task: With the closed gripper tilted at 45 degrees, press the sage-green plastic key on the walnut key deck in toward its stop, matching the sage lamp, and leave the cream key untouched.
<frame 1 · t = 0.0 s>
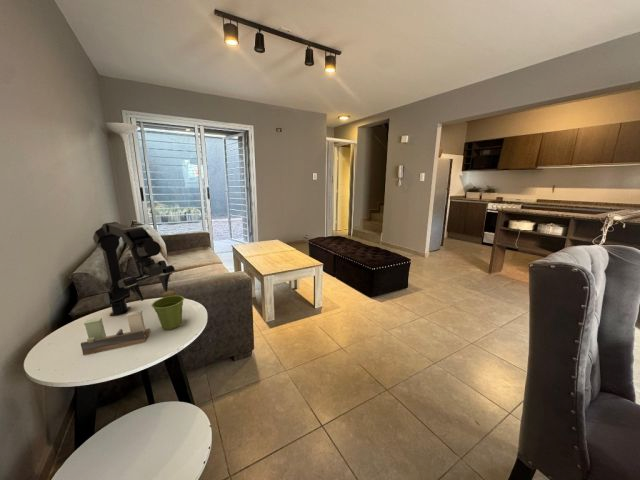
hand: (154, 295, 102), 15 cm above the table, tool pointing down, fingers open, 9 cm apart
key deck: (119, 340, 99), on the table
cream key: (136, 323, 100), point 6 cm above the table, slide at 0.0 cm
plant pot: (172, 325, 109), on the table
cork: (172, 313, 119), on the table
sage key: (95, 330, 95), point 6 cm above the table, slide at 0.0 cm
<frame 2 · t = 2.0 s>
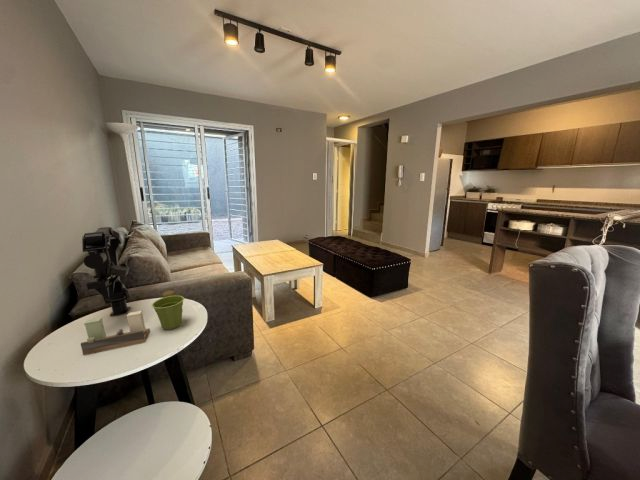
hand: (109, 296, 109), 13 cm above the table, tool pointing down, fingers open, 4 cm apart
nothing on the table moved.
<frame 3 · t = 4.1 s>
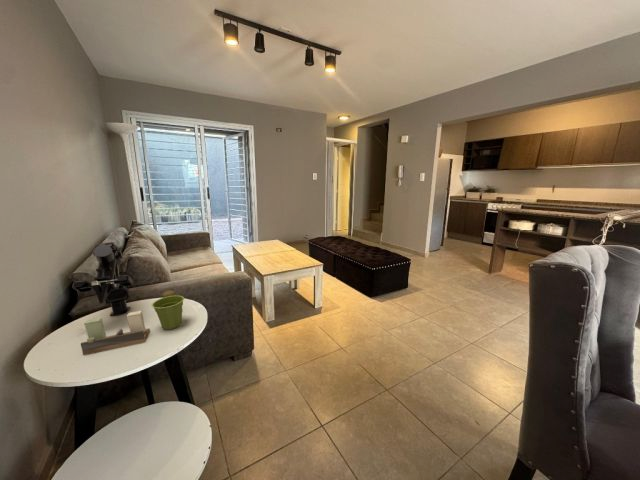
hand: (101, 303, 102), 14 cm above the table, tool tilted 45°, fingers closed
nothing on the table moved.
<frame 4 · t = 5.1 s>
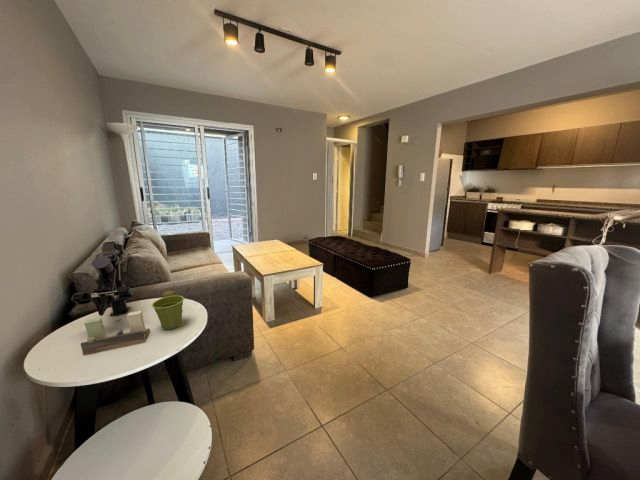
hand: (101, 315, 100), 10 cm above the table, tool tilted 45°, fingers closed
nothing on the table moved.
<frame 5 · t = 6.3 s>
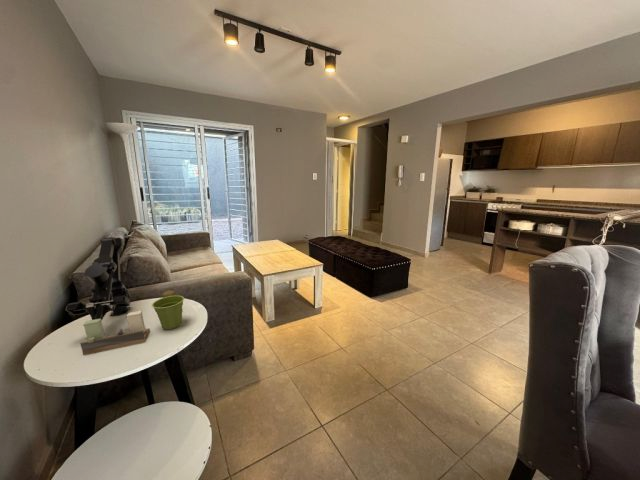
hand: (96, 326, 96), 8 cm above the table, tool tilted 45°, fingers closed, pressing on sage key
sage key: (94, 331, 95), point 6 cm above the table, slide at 0.7 cm, touching gripper
everything else where it was.
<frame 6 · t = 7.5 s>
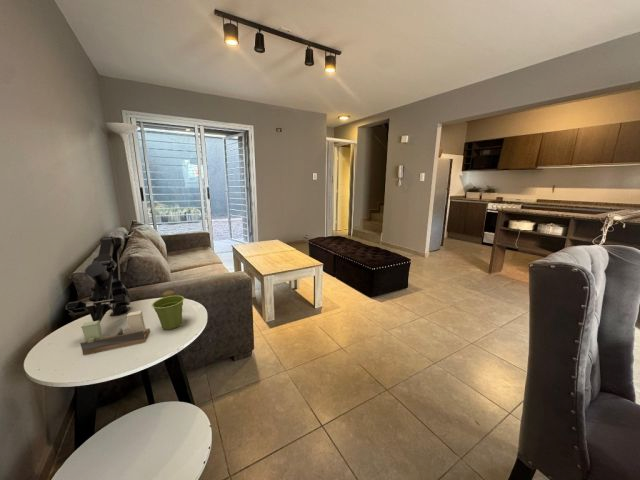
hand: (96, 325, 96), 8 cm above the table, tool tilted 45°, fingers closed
sage key: (93, 333, 93), point 6 cm above the table, slide at 2.2 cm, touching key deck
everything else where it was.
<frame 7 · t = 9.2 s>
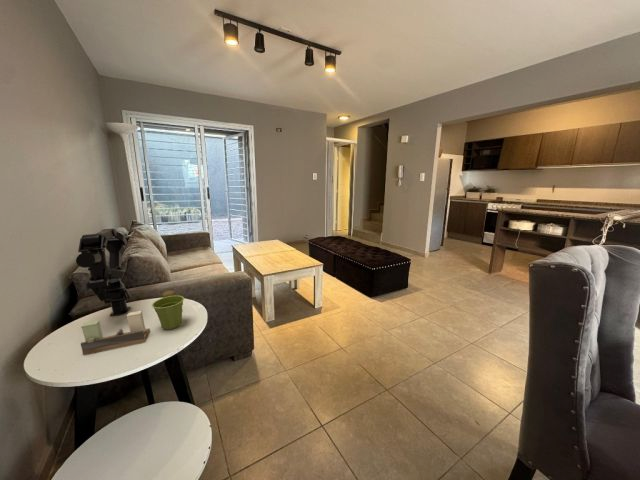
hand: (102, 300, 107), 12 cm above the table, tool pointing down, fingers closed
nothing on the table moved.
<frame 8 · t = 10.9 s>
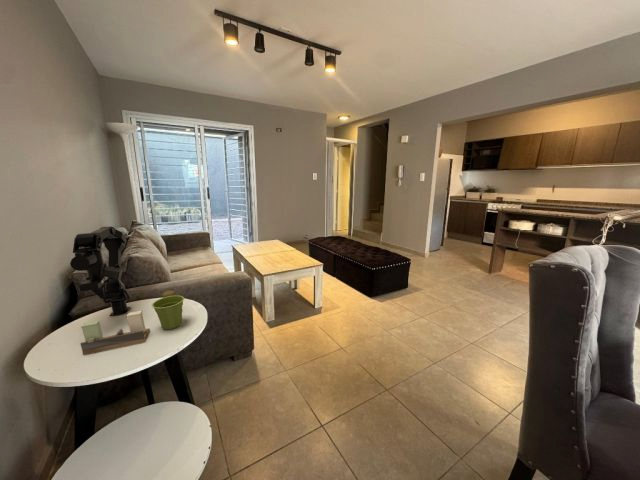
hand: (102, 298, 107), 13 cm above the table, tool pointing down, fingers closed
nothing on the table moved.
at the end: sage key slide at 2.2 cm; cream key slide at 0.0 cm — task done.
